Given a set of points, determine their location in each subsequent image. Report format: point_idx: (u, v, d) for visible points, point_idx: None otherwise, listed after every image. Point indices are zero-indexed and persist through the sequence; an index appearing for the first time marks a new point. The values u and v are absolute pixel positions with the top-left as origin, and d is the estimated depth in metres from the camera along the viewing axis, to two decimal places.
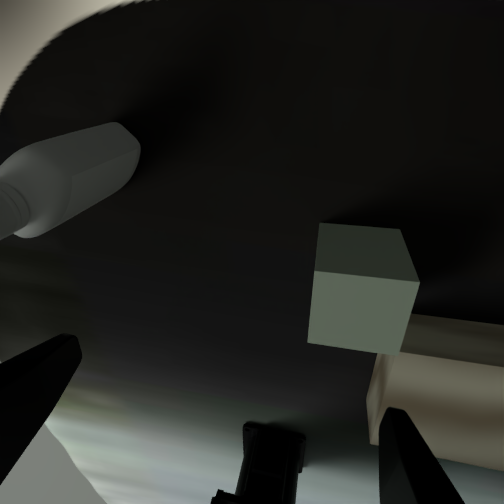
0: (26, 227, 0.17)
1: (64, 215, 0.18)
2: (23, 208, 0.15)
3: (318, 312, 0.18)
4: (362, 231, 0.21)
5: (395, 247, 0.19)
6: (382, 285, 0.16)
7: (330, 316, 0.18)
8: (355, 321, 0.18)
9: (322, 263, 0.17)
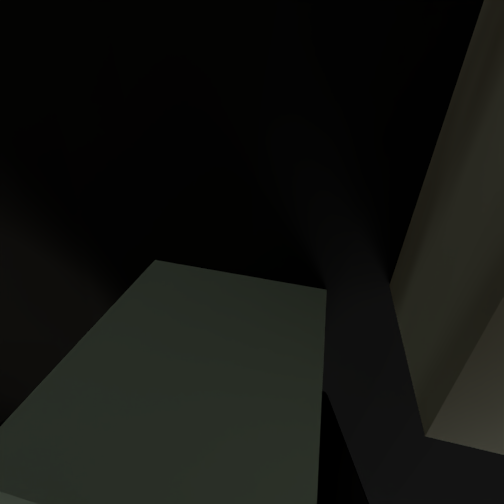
0: None
1: None
2: None
3: None
4: None
5: None
6: None
7: None
8: None
9: None
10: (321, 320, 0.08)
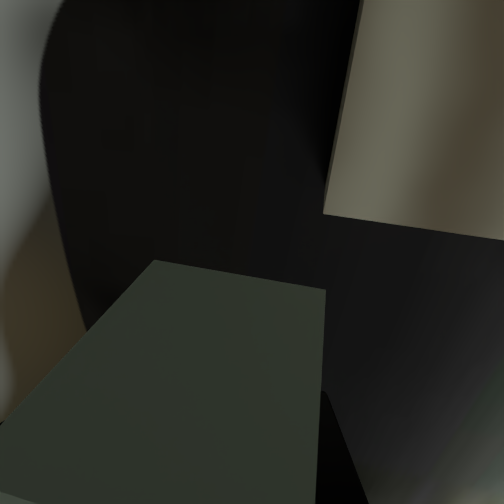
0: None
1: None
2: None
3: None
4: None
5: None
6: None
7: None
8: None
9: None
10: (320, 320, 0.08)
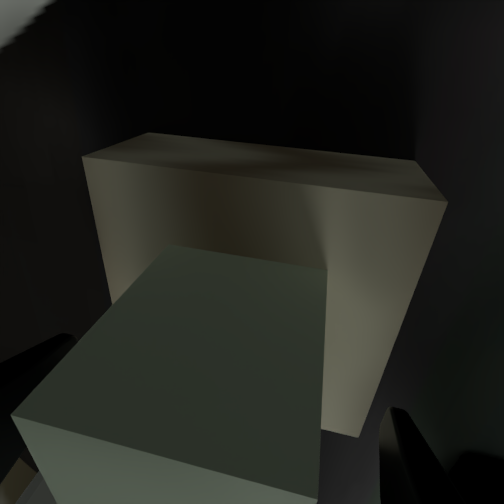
0: None
1: None
2: None
3: None
4: None
5: None
6: (59, 473, 0.06)
7: None
8: None
9: None
10: (323, 295, 0.09)
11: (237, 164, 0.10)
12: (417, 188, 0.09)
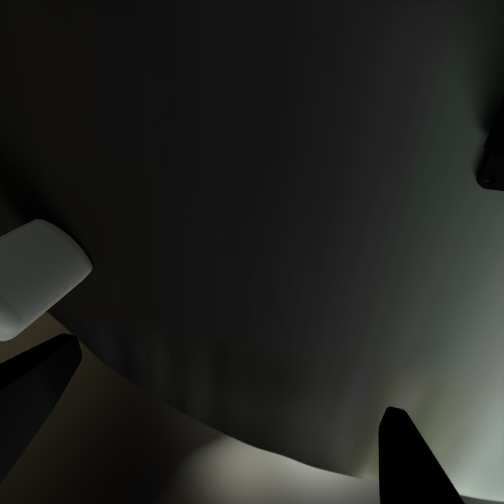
0: None
1: None
2: None
3: None
4: None
5: None
6: None
7: None
8: None
9: None
10: None
11: None
12: None
